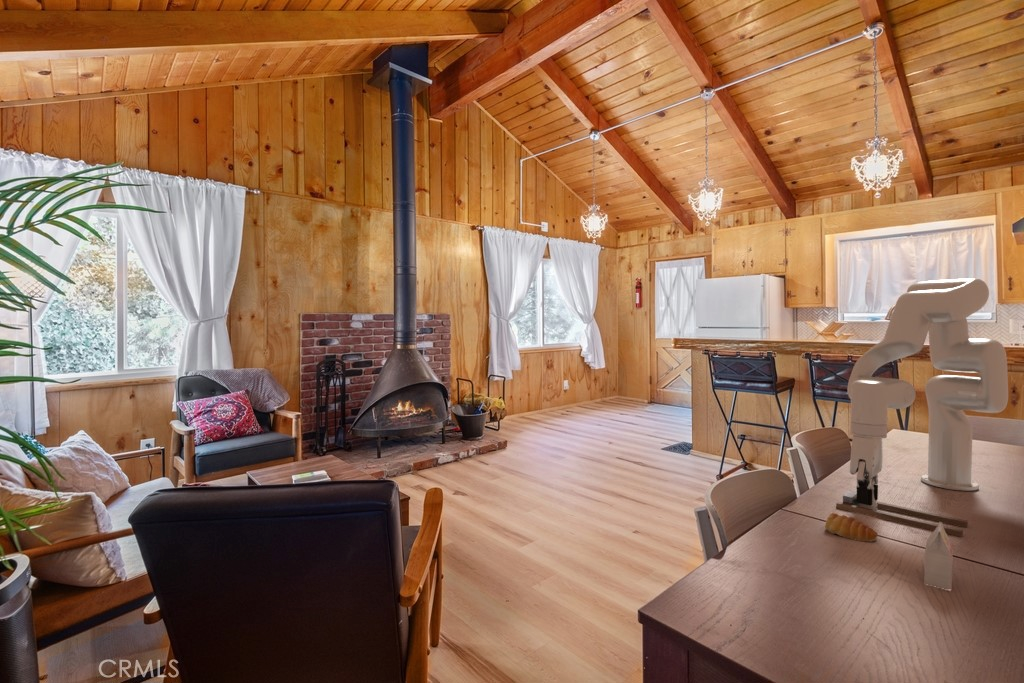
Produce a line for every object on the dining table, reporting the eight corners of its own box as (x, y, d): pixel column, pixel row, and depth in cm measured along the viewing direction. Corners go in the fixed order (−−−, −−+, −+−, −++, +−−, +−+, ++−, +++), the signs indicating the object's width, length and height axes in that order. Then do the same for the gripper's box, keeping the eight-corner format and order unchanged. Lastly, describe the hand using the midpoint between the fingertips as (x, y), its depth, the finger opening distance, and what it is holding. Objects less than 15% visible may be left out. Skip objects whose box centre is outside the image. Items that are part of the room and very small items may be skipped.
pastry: (881, 538, 110) (882, 521, 110) (870, 547, 106) (871, 529, 106) (834, 525, 118) (834, 509, 118) (821, 532, 114) (822, 516, 113)
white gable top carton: (924, 584, 90) (925, 529, 90) (926, 570, 96) (927, 518, 95) (951, 591, 88) (952, 535, 88) (952, 577, 93) (953, 523, 93)
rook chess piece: (881, 513, 124) (882, 481, 124) (861, 511, 125) (862, 480, 125) (872, 506, 129) (873, 475, 128) (853, 505, 129) (853, 474, 129)
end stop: (849, 501, 132) (849, 490, 132) (858, 503, 131) (858, 492, 130) (842, 507, 128) (842, 495, 128) (851, 509, 127) (852, 497, 127)
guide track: (847, 499, 134) (847, 494, 134) (967, 525, 116) (968, 520, 116) (836, 507, 128) (836, 503, 128) (961, 537, 110) (961, 531, 110)
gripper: (860, 422, 134) (859, 490, 135) (840, 432, 123) (839, 505, 124) (894, 427, 129) (893, 497, 129) (877, 437, 118) (876, 514, 118)
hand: (867, 500), depth 127 cm, fingers open, 4 cm apart
